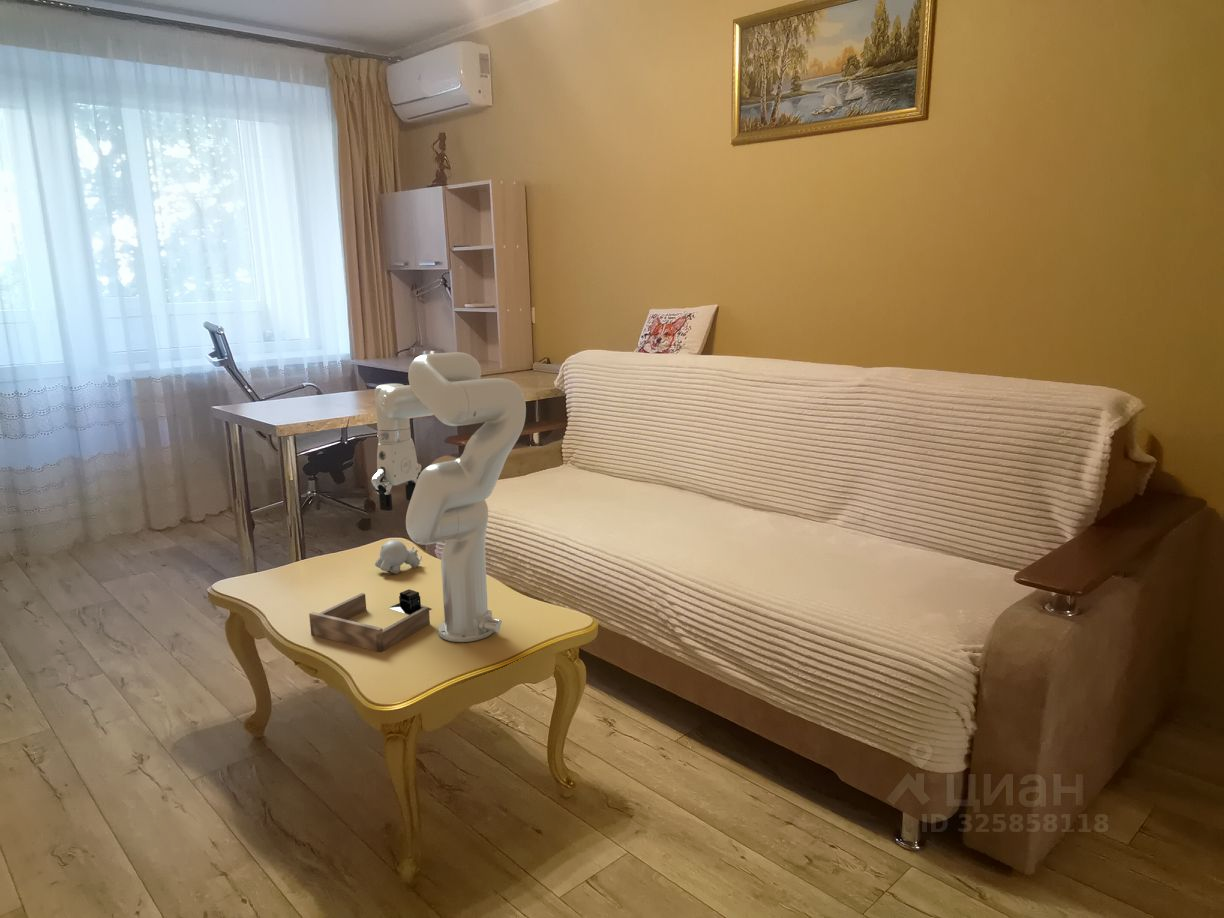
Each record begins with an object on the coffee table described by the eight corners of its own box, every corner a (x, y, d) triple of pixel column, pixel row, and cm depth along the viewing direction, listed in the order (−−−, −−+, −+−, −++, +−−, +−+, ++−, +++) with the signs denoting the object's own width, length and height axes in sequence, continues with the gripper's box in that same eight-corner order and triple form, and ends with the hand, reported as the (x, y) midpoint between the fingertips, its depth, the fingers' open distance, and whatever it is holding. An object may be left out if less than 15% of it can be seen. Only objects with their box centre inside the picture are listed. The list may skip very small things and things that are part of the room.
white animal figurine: (421, 580, 217) (431, 550, 217) (379, 572, 210) (389, 541, 210) (411, 572, 223) (421, 543, 223) (371, 564, 216) (380, 534, 216)
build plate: (381, 610, 192) (380, 591, 191) (405, 600, 198) (404, 582, 197) (416, 621, 185) (415, 602, 184) (440, 611, 191) (439, 592, 190)
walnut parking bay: (429, 623, 183) (428, 603, 182) (380, 652, 169) (378, 629, 168) (363, 608, 191) (361, 589, 190) (311, 634, 177) (309, 613, 176)
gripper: (382, 443, 183) (388, 515, 186) (429, 430, 198) (433, 498, 202) (357, 441, 186) (363, 512, 189) (405, 429, 201) (409, 495, 205)
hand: (399, 505), depth 196 cm, fingers open, 9 cm apart
